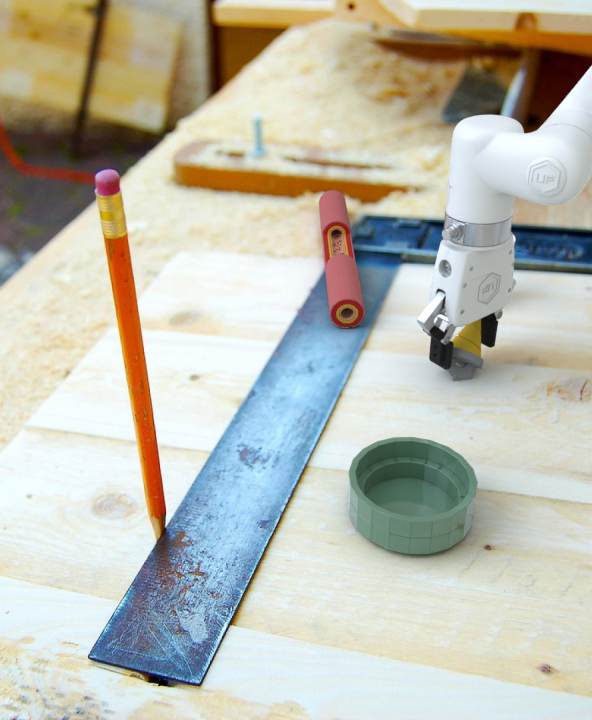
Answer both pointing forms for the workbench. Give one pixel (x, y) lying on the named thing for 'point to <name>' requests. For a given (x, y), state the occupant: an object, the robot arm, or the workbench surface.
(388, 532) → the bowl
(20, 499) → the workbench surface
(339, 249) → the blood vessel
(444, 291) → the robot arm
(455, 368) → the drill bit
